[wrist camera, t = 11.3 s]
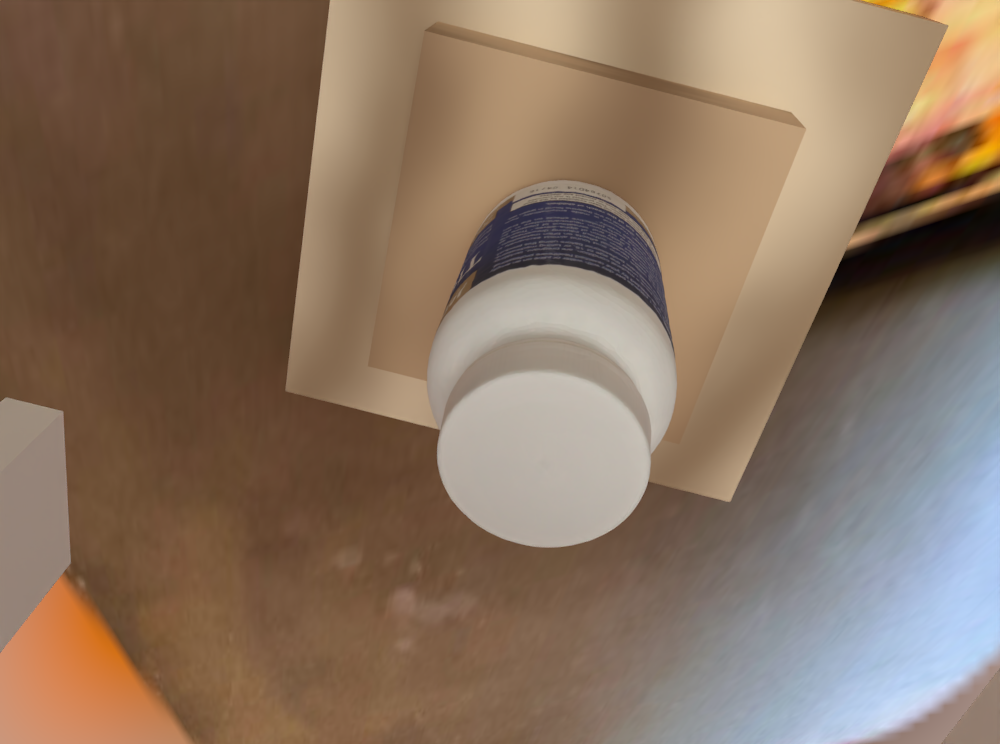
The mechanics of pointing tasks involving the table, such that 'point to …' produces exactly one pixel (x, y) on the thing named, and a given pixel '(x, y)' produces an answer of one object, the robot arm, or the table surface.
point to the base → (657, 35)
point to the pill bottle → (553, 367)
